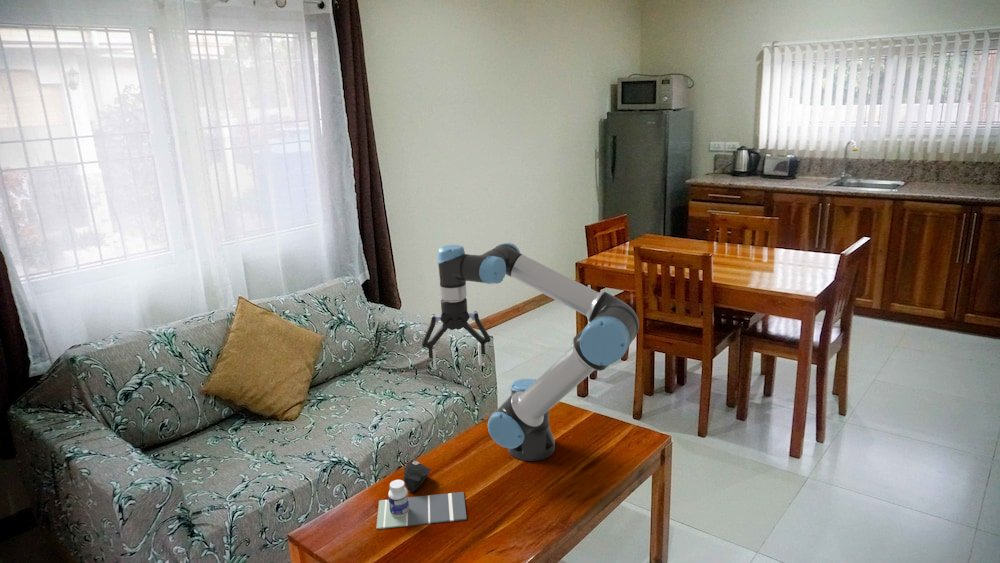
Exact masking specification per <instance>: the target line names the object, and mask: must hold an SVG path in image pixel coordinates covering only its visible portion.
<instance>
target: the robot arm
mask: <svg viewBox="0 0 1000 563" xmlns="http://www.w3.org/2000/svg"><path fill="white" fill-rule="evenodd" d="M465 252H466V251H465V248H464V246H463V245H459V244H448V245H447V244H446V245H444V246H443V245H442V246H441V247H440V248H439V249H438V252H437V253H438V254H437V265H438V276H439V291H440V292H439V293H440V305H441V306H440V307H441V315H436V314H431V317H430V323H429V325H428V328H427V330H426V331H425V334H424V336H423V338H422V341H421V346H422V348H427V349H428V357H429V359H432V362H433V370H437V361H436V360H437V358H436V346H435V345H436V344H437V343H438V341H439V340H440V338H441V337H442V336H443V335H444V333H446V332H447V330H450V331H453V330H461V329H464V330H466V331H467V332H468V333H469V335H471V336H472V337H474V339H475V340H477V352H478V353H477V355H478V357H477V358H478V365H479V367H480V366H481V367H482V366H483V360H482V356H483V355H485V353H486V344H487V343H490V342H491V336H490V335H489V333H488V331H487V330H486V328H485V326H484V324H483V323H482V321H481V320H480V318H479V312H478V311H477V310H474V311H473V312H471V313H469V312H468V300H467V295H468V294H467V283H466V282H475V283H483V284H487V285H491V284H493V285H494V284H501V283H502V282H503V281H504V278H505V276H509V277H511V278H513V279H514V280H516V281H519V282H521V283H523V284H525V285H526V286H528V287H530V288H532V289H534V290H535V291H537V292H539V293H542V294H543V295H545V296H547V297H548V298H551V299H553V300H555V301H557V302H558V303H560V304H563V305H565V306H566V307H568V308H570V309H572V310H574V311H576V312H578V313H579V314H581V315H583V316H585V317H586V318H587V321H588V322H589V323H588V324H586V326H585V327H583V329H582V330H580V331H579V333H577V334H576V335H575V336H574V337H573V338H572V347H570V348H569V349H568V350H567V351H566V352H565V353H564V354H563V355H562V356H561V357H560V358H558V359H557V361H556V362H554V363H553V364H552V365H551V366H550V367H549V368H548V369H547V370H546V371H545V372H544V373H542V374H541V376H539V377H538V378H537V379H535V378H521V379H517V380H515V381H513V382H512V383H511V384H510V385H511V386H510V396H509V397H508V398H507V399H506V400H505V401H504V402H502V404H501V405H500V406H499V407H498V409H496V410H495V411H494V412H492V414H491V415H490V417H489V419H488V421H487V429H488V434H489V436H490V438H491V439H492V440H493V441H494V443H496V444H497V445H498V446H500V447H502V448H506V449H507V452H508V453H509V455H511V456H512V457H514V458H515V459H517V460H521V461H525V462H532V461H533V462H534V461H537V462H538V461H542V460H545V459H547V458H549V457H550V456H552V455H553V454H554V453H555V450H556V449H555V448H556V441H555V439H554V435H553V433H552V430H551V427H550V410H551V409H553V407H555V405H557V404H558V403H559V402H560V401H561V400H563V399H564V397H566V396H567V395H568V394H569V393H570V392H572V391H573V390H574V389H575V388H576V387H577V386H578V385H579V384H580V383H582V382H583V381H584V380H585V379H587V377H589V376H590V375H591V374H592V373H593V372H594V371H598V372H602V371H604V370H606V369H607V368H608V367H609V366H610V365H613V364H614V363H616V362H618V361H619V360H621V359H622V358H623V356H625V355H626V352H627V351H628V348H630V345H631V344H632V342H633V341H634V340H635V339H636V337H637V335H638V333H639V329H640V320H639V317H638V316H637V313H636V312H635V310H634V309H633V308H632V307H631V306H630V305H628V304H627V303H626V302H625V301H623V300H621V299H619V298H618V297H616V296H614V295H612V294H610V293H608V292H606V291H604V290H603V291H599V292H598V291H596V290H595V289H592V288H590V287H588V286H586V285H584V284H583V283H580V282H578V281H577V280H574V279H572V278H571V277H568V276H566V275H564V274H562V273H561V272H559V271H556V270H554V269H553V268H550V267H548V266H546V265H544V264H542V263H541V262H538V261H536V260H535V259H533V258H531V257H528V256H527V255H525V254H523V253H521V252H520V250H519V247H517V245H515V244H514V243H511V242H504V243H501V244H499V245H496V246H495V247H494V248H491V249H489V250H488V251H486V252H484V253H483V254H479V255H478V254H467V253H465ZM470 319H471V320H472V321H475V322H474V323H475V324H476V326H477V327H478V329H479V331H480V333H481V334H482V335H481V334H480V333H479V332H477V331H476V330H475V329H474V328H473V327H472V326H471V324H469V322H468V321H469V320H470ZM439 321H441V323H442V324H441V325H440V328H438V330H437V331H436V333H435V334H434V335H433V337H432V338H431V339H430V337H431V336H432V333H433V331H434V329H435V327H436V324H438V322H439ZM482 336H483V337H482Z"/></svg>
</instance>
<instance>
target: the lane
mask: <svg viewBox="0 0 1000 563" xmlns="http://www.w3.org/2000/svg"><path fill="white" fill-rule="evenodd" d="M408 503H409V512H408V513H407V514H406V515H404V516H402V517H394V516H392V515H391V513H390V507H389V498H388V499H381V500H378V507H377V508H378V509H377V518H376V527H375V529H376V530H382V529H391V528H401V527H411V526H418V525H419V526H420V525H428V524H429V525H430V524H438V523H439V524H440V523H447V522H457V521H465V520H467V510H466V501H465V491H457V492H450V493H440V494H438V493H437V494H430V495H429V494H428V495H421V496H420V495H419V496H410V497H409V496H408Z"/></svg>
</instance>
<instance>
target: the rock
mask: <svg viewBox="0 0 1000 563" xmlns="http://www.w3.org/2000/svg"><path fill="white" fill-rule="evenodd" d="M403 469H404V471H403V474H404V475H403V481H404V483H405V487H406V489H407V491H409V492H410V493H414V492H416V490H418V488H419V487H420V486H421V485H422V483H423V482H424V481H425V480H426V479H427V477H428V475H429V474H430V472H431V471H432V469H431V468H429V467H427V466H425V465H424V464H422V463H421V462H419V461H416V460H413V459H412V460H410V461H409V462H408V463H406V464H405V467H404V468H403Z"/></svg>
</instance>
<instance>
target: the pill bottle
mask: <svg viewBox="0 0 1000 563" xmlns="http://www.w3.org/2000/svg"><path fill="white" fill-rule="evenodd" d="M408 491H409V490H408V489H407V487H406V484H405V482H404V479H403V480H402V479H395V480H391V481H390V483H389V490H388V499H389V507H390V513H391V515H392V516H394V517H402V516H404V515H406V514H407V513H408V512H409V503H408V497H409V495H408Z"/></svg>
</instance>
